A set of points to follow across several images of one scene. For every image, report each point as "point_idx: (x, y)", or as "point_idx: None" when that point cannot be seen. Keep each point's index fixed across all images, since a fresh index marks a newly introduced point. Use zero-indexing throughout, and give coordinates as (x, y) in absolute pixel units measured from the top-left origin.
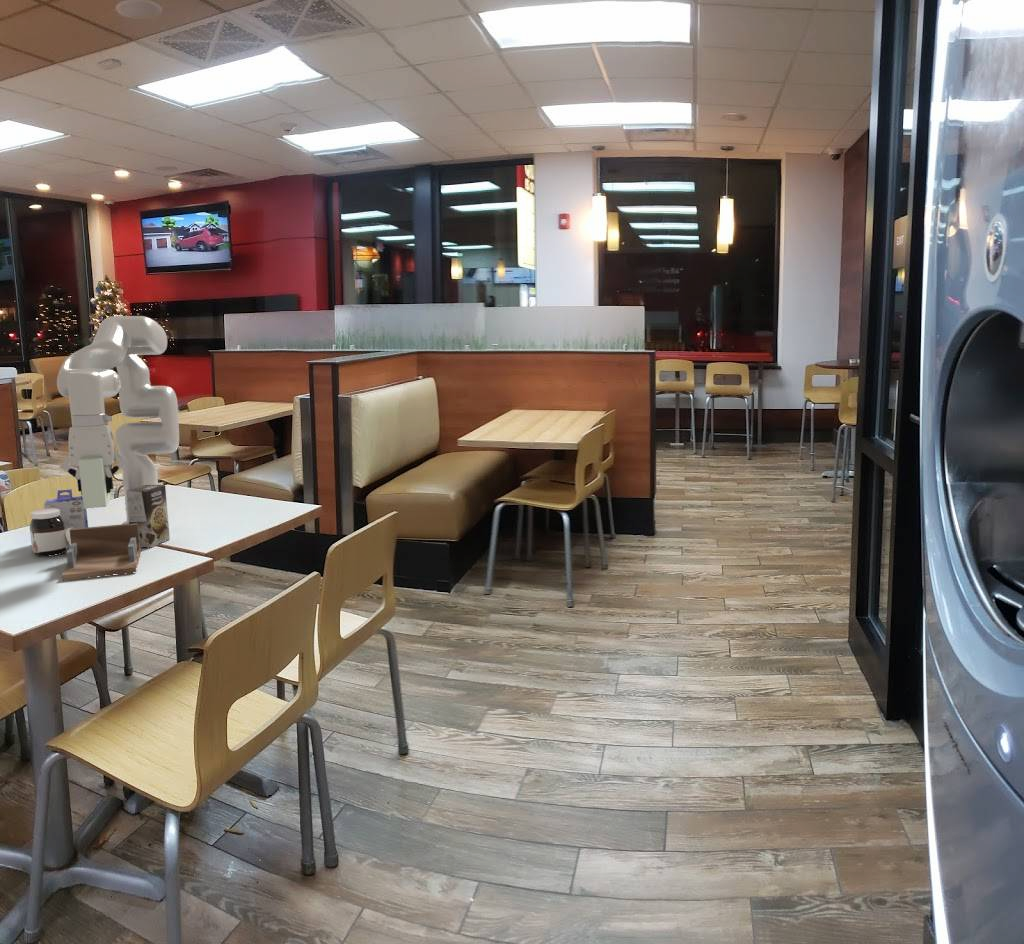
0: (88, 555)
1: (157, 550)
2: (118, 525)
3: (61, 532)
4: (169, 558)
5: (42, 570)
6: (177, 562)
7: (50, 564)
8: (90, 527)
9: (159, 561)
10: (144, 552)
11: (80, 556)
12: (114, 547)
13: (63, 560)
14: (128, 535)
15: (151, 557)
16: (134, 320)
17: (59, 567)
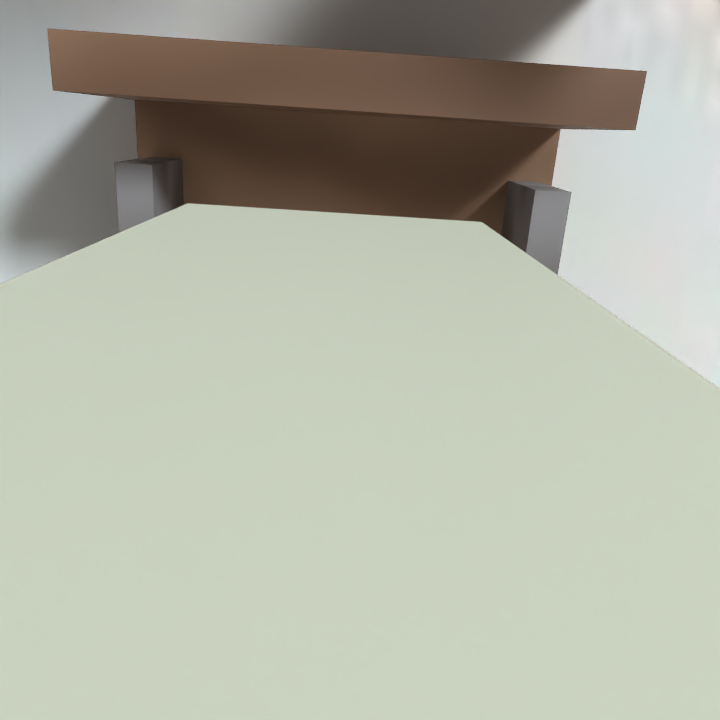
0: (237, 125)
1: (666, 45)
2: (473, 93)
3: None
4: (695, 284)
5: (3, 222)
6: (716, 384)
7: (14, 97)
8: (227, 53)
9: (633, 323)
10: (580, 61)
11: (188, 130)
12: (404, 117)
13: (75, 27)
14: (525, 124)
15: (604, 213)
16: None
17: (88, 199)
